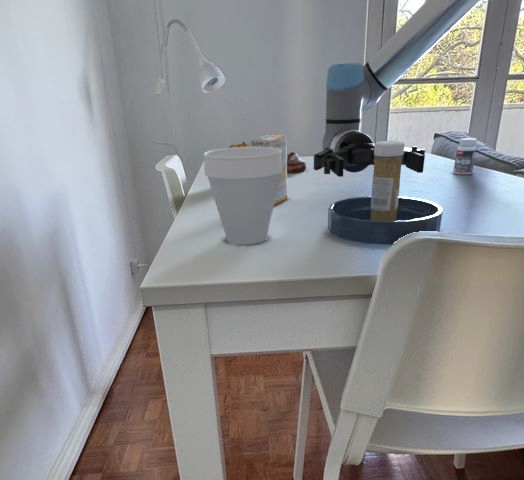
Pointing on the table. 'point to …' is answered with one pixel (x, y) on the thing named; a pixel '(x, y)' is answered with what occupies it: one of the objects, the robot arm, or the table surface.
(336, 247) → the table surface
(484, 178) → the table surface
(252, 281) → the table surface
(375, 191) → the sprinkles bottle
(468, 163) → the pill bottle
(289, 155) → the pastry
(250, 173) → the white flower pot
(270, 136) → the supplement box
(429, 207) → the dark blue round dish
